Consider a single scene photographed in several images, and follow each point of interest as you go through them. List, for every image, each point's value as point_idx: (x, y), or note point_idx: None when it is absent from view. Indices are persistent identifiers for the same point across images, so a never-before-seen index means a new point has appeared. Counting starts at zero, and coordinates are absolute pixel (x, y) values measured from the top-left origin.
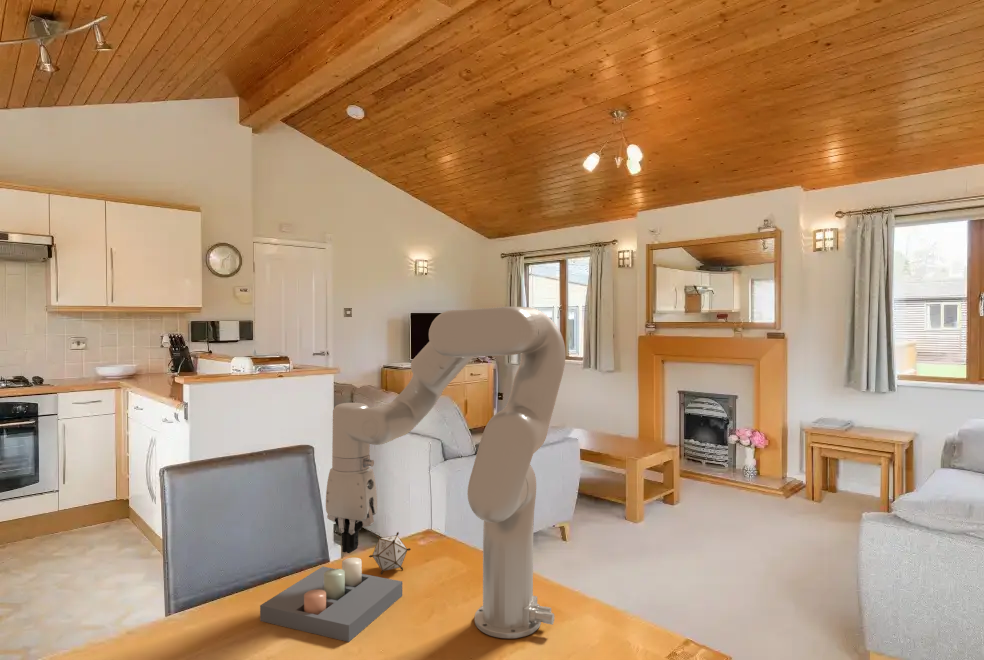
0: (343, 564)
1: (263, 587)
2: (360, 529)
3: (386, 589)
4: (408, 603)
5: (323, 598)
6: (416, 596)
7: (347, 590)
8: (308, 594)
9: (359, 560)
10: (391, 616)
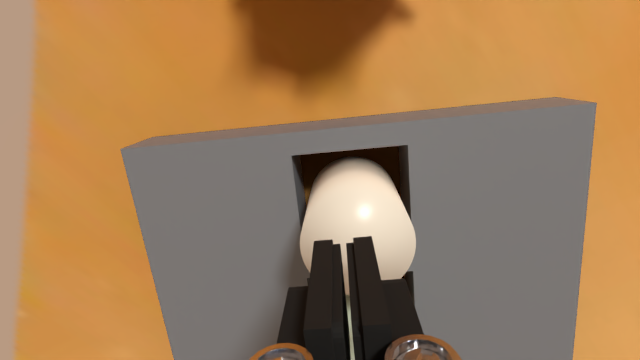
0: None
1: (27, 279)
2: (443, 342)
3: (559, 208)
4: (611, 141)
5: None
6: (620, 72)
7: None
8: None
9: (390, 214)
10: (590, 250)
